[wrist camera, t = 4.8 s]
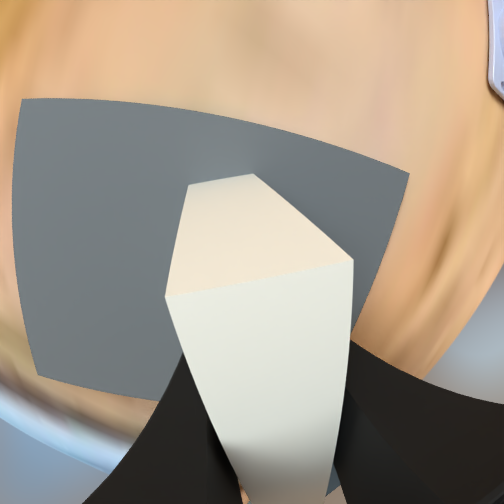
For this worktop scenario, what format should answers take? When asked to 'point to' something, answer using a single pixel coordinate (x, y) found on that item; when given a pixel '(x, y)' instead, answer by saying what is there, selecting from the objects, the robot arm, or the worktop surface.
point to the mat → (156, 224)
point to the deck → (263, 333)
